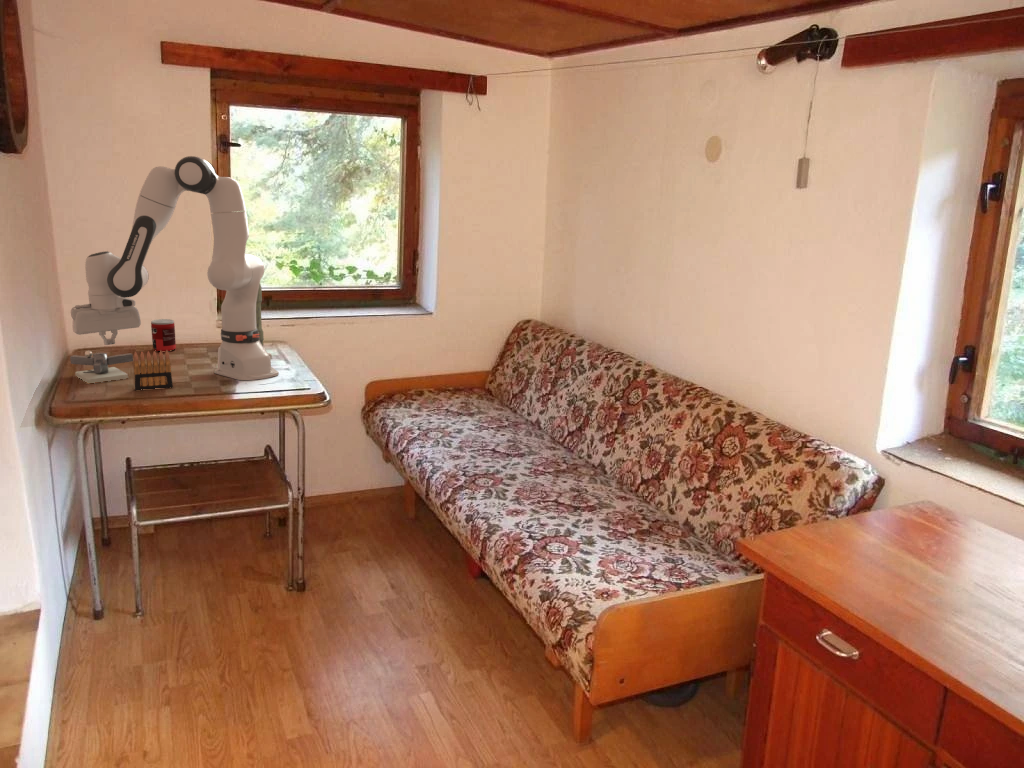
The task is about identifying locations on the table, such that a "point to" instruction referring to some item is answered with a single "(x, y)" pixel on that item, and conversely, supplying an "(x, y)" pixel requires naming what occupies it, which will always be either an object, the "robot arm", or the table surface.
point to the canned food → (163, 334)
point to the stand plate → (101, 375)
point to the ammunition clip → (152, 371)
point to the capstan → (100, 360)
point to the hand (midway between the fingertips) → (109, 344)
